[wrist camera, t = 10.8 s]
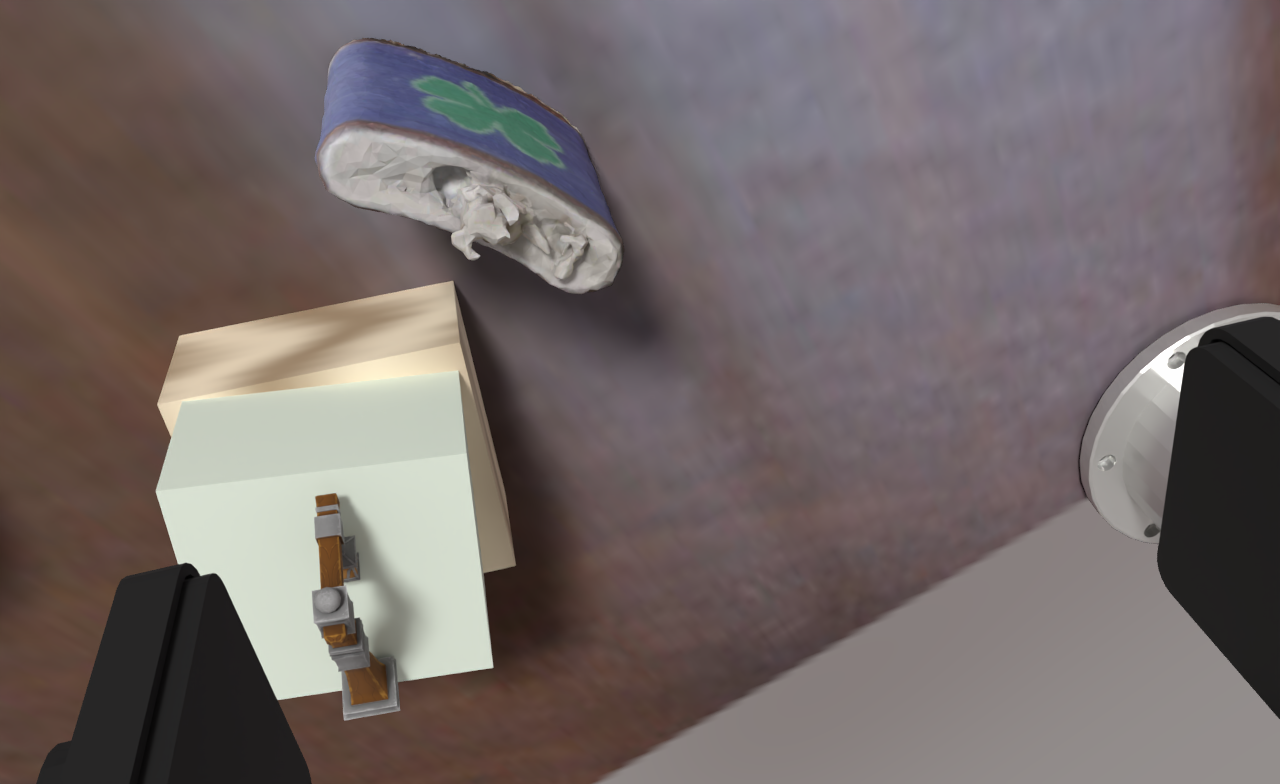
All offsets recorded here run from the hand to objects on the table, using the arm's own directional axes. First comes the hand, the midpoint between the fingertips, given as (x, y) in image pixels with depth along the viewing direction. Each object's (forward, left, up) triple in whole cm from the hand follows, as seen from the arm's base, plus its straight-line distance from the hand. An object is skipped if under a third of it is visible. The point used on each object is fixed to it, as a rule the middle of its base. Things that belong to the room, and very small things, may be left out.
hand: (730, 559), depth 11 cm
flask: (+2, +5, -31) cm, 31 cm away
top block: (+9, +16, -26) cm, 32 cm away
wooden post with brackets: (+9, +16, -21) cm, 28 cm away
